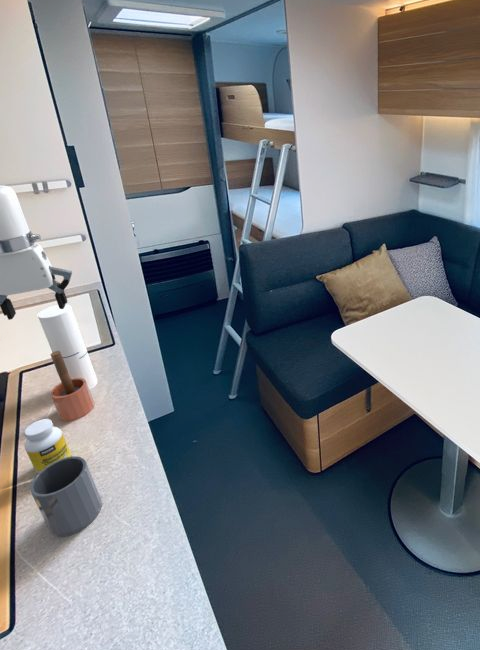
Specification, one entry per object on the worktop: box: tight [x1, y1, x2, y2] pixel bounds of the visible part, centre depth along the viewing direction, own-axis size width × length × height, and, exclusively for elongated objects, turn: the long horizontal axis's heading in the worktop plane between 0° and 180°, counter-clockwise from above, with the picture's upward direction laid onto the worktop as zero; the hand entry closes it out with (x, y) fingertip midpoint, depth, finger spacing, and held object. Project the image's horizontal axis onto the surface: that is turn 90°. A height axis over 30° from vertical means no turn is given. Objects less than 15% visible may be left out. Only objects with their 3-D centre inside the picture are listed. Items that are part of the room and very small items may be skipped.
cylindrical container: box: [37, 303, 98, 390], centre depth 112 cm, size 7×7×25 cm
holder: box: [49, 378, 95, 422], centre depth 106 cm, size 8×8×8 cm
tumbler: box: [29, 455, 103, 538], centre depth 79 cm, size 9×9×11 cm
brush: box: [50, 351, 80, 396], centre depth 104 cm, size 4×4×18 cm
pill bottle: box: [24, 418, 72, 475], centre depth 90 cm, size 6×6×12 cm
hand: (38, 311), depth 96 cm, fingers open, 9 cm apart
